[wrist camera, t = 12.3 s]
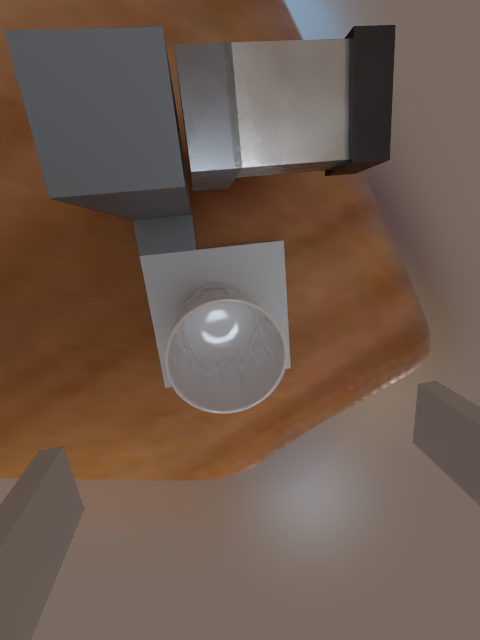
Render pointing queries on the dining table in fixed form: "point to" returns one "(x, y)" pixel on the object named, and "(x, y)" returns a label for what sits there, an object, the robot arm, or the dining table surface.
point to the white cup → (224, 351)
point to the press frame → (132, 161)
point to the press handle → (286, 105)
